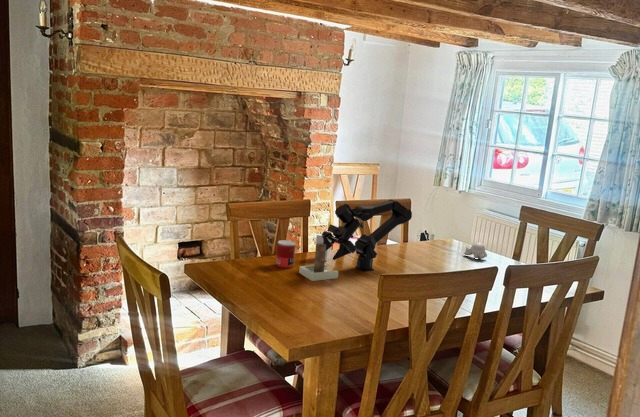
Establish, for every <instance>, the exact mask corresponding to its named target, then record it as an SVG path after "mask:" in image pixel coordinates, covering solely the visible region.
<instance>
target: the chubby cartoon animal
mask: <svg viewBox="0 0 640 417" xmlns="http://www.w3.org/2000/svg"><path fill="white" fill-rule="evenodd" d="M462 251H463V255H464V254H465V255H469V256H472V255H473V258H474V257H475V258H479V259H480V260H483V259H485V258H487V257H488V253H487V252H486V246H485V244H483V243H482V242H474V243H473V244H472V245H471V246H470V245H468V246H465V250H462ZM465 255H464V256H465Z"/></svg>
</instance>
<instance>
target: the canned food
mask: <svg viewBox="0 0 640 417" xmlns="http://www.w3.org/2000/svg"><path fill="white" fill-rule="evenodd" d="M276 246H277V248H276V260H275V261H276V262H275V264H276V267H278V268H281V269H292V268H293V267H294V265H295V256H296V255H295V252H296V242H294V241H293V240H286V239H283V240H282V239H281V240H280V239H279V240H278V241H277V244H276Z"/></svg>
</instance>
